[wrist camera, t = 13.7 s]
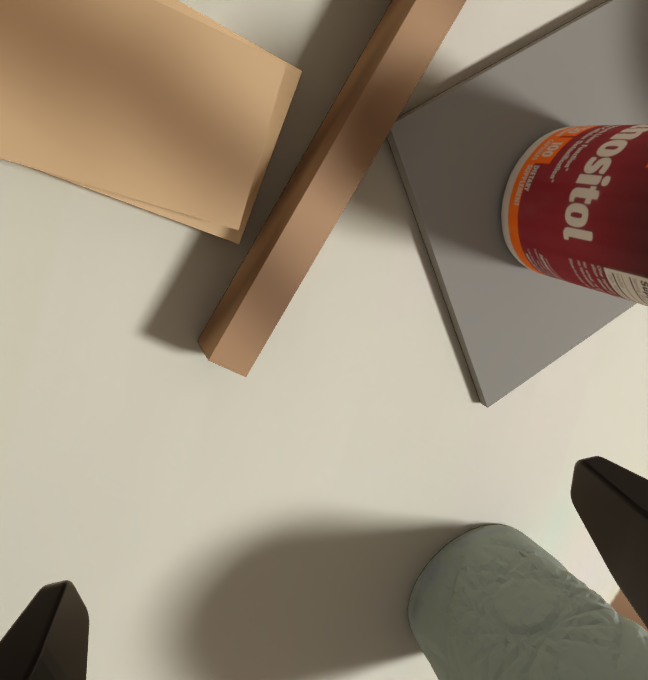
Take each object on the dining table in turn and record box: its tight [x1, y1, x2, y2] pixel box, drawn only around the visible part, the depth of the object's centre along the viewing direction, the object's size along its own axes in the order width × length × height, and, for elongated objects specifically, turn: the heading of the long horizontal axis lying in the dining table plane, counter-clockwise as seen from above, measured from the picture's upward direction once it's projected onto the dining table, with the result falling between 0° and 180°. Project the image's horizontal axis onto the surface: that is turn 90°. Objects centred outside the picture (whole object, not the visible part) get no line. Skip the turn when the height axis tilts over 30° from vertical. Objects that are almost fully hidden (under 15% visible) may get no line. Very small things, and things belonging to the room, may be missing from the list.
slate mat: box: [387, 0, 648, 408], centre depth 24 cm, size 14×14×1 cm
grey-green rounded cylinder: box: [408, 524, 648, 680], centre depth 26 cm, size 10×10×12 cm
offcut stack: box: [0, 0, 302, 244], centre depth 15 cm, size 6×12×2 cm, turn 67°
